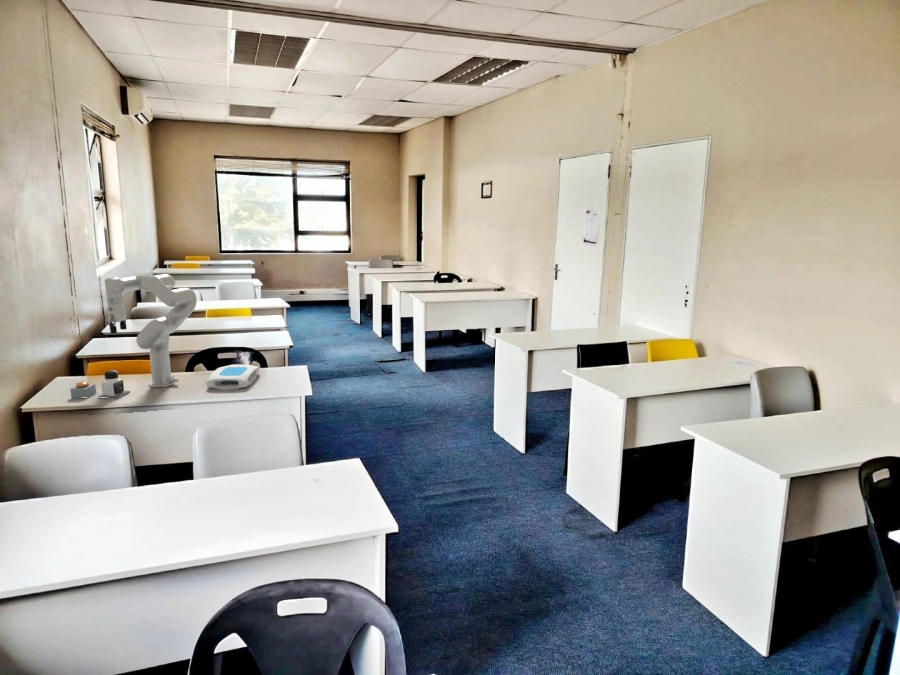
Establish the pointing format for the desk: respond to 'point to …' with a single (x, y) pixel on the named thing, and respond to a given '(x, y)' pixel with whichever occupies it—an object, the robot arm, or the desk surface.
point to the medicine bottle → (112, 384)
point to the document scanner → (233, 376)
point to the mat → (116, 395)
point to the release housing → (83, 391)
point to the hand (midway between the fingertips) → (118, 331)
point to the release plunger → (82, 384)
